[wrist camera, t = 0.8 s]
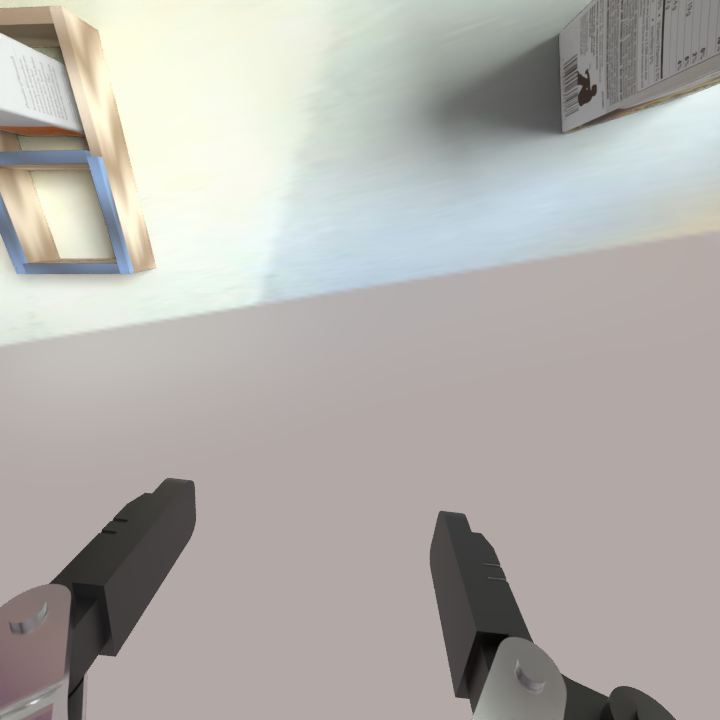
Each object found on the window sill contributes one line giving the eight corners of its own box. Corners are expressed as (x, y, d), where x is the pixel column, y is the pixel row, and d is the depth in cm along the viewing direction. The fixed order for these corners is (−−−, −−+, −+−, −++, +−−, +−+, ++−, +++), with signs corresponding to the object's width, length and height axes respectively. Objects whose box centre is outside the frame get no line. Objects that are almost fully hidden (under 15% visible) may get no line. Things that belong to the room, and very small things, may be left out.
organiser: (-30, 35, 24) (-94, 6, 21) (97, 30, 24) (54, 1, 20) (54, 268, 30) (17, 273, 27) (156, 267, 30) (129, 273, 27)
